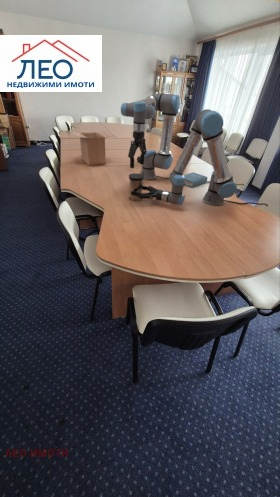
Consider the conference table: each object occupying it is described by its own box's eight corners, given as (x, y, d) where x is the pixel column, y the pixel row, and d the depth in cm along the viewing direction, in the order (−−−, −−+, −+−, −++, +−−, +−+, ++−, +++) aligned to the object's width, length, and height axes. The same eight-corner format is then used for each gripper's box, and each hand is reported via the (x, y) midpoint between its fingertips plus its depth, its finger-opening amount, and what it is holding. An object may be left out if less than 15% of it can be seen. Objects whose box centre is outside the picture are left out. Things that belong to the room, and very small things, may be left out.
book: (192, 177, 213) (193, 172, 210) (206, 182, 204) (207, 177, 201) (177, 182, 200) (178, 176, 197) (192, 187, 191) (193, 182, 188)
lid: (125, 177, 157) (125, 175, 156) (136, 174, 164) (136, 172, 163) (136, 182, 152) (137, 179, 150) (147, 178, 158) (147, 176, 157)
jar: (126, 197, 166) (126, 176, 156) (135, 194, 172) (136, 173, 162) (135, 201, 161) (136, 179, 151) (144, 198, 167) (146, 176, 157)
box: (116, 165, 229) (116, 136, 213) (83, 168, 214) (80, 137, 198) (102, 154, 259) (101, 128, 243) (71, 156, 244) (68, 129, 228)
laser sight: (156, 165, 238) (157, 155, 232) (135, 163, 241) (136, 153, 235) (157, 163, 245) (158, 153, 240) (137, 160, 248) (138, 151, 242)
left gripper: (143, 128, 150) (141, 161, 162) (122, 132, 133) (122, 168, 146) (153, 129, 147) (150, 163, 159) (133, 134, 130) (131, 171, 143)
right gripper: (156, 207, 149) (127, 200, 155) (166, 194, 168) (141, 189, 174) (157, 197, 145) (128, 190, 151) (168, 185, 164) (141, 179, 169)
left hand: (137, 165), depth 153 cm, fingers open, 12 cm apart
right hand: (135, 189), depth 162 cm, fingers open, 13 cm apart
